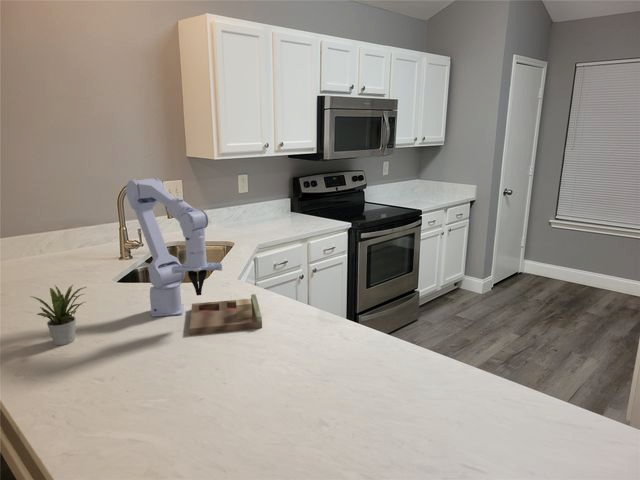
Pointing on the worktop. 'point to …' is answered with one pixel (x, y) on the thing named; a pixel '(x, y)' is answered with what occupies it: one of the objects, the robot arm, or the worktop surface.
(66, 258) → the worktop surface
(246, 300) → the maple block
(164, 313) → the robot arm
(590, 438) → the worktop surface
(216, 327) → the trap deck
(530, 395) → the worktop surface
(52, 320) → the house plant
